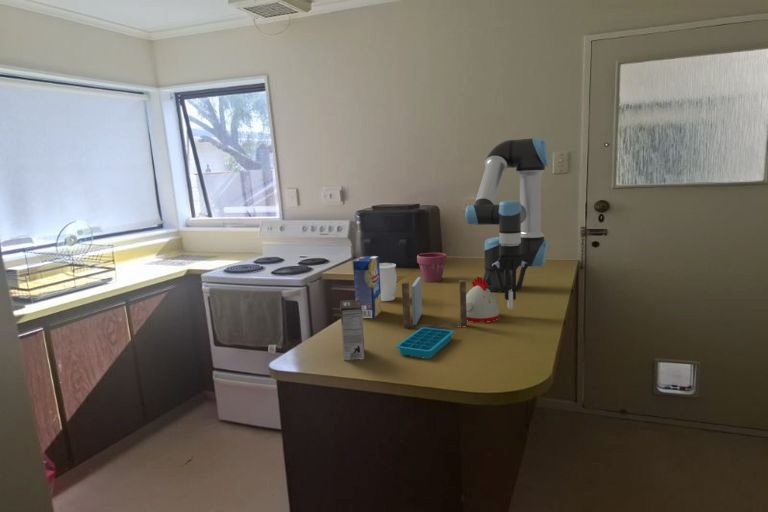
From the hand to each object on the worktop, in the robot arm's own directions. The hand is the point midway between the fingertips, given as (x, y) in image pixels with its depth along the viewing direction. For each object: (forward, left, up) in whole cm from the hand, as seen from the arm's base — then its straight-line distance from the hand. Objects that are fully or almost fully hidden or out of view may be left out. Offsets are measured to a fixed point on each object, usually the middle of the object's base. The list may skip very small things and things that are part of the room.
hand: (510, 308), depth 185 cm
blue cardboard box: (+52, -7, -3) cm, 53 cm away
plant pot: (+27, -64, -3) cm, 70 cm away
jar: (+48, -30, -3) cm, 56 cm away
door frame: (+28, +10, -3) cm, 30 cm away
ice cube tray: (+31, +30, -4) cm, 43 cm away
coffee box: (+53, +36, -3) cm, 64 cm away
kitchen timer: (+11, 0, -3) cm, 11 cm away
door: (+35, +2, -3) cm, 35 cm away
